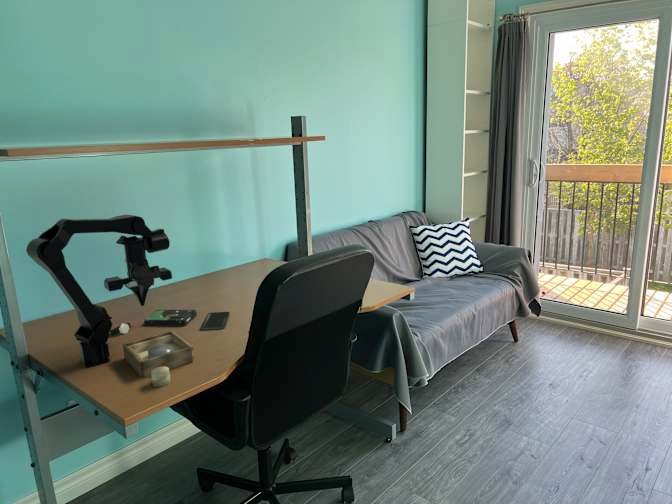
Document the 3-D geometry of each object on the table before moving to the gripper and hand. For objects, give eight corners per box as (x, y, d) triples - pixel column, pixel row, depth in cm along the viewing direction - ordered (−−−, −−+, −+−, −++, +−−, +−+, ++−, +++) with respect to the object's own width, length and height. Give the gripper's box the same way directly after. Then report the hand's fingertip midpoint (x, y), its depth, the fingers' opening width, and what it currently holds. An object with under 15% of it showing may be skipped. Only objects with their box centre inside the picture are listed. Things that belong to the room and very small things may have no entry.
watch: (117, 338, 161) (116, 327, 160) (106, 336, 162) (105, 326, 162) (135, 329, 168) (133, 319, 167) (124, 328, 169) (123, 317, 168)
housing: (142, 378, 133) (140, 362, 132) (124, 358, 145) (122, 344, 144) (192, 362, 141) (191, 347, 140) (171, 345, 153) (170, 331, 152)
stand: (156, 388, 127) (154, 376, 126) (150, 382, 130) (148, 370, 130) (173, 382, 130) (171, 370, 129) (166, 376, 133) (165, 364, 132)
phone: (200, 328, 164) (208, 312, 179) (200, 331, 164) (208, 315, 179) (224, 327, 164) (230, 311, 179) (224, 330, 165) (231, 314, 179)
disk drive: (197, 316, 179) (157, 316, 180) (196, 309, 178) (156, 308, 180) (185, 328, 169) (144, 327, 170) (185, 320, 168) (143, 319, 170)
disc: (177, 356, 143) (176, 350, 142) (152, 363, 139) (151, 356, 138) (169, 348, 148) (168, 342, 148) (145, 355, 144) (144, 348, 144)
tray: (145, 374, 134) (143, 360, 133) (128, 356, 145) (126, 343, 144) (197, 358, 142) (196, 345, 141) (177, 342, 154) (176, 330, 153)
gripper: (110, 267, 138) (118, 320, 142) (176, 255, 150) (181, 304, 153) (100, 260, 147) (107, 310, 151) (162, 249, 158) (168, 296, 162)
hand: (142, 305), depth 154 cm, fingers closed
